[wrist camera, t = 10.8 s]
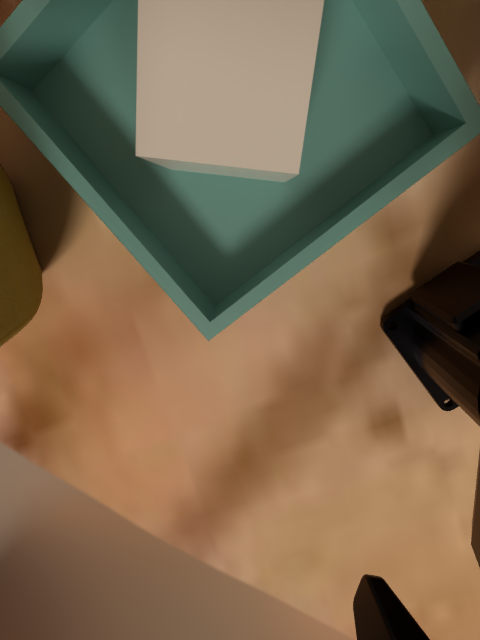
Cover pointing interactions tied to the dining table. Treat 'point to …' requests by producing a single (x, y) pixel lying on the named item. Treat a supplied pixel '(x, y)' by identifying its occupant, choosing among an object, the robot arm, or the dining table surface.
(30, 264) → the flower pot
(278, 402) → the dining table surface
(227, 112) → the stone block
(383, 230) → the dining table surface
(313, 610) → the dining table surface
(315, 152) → the teal bin
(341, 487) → the dining table surface
